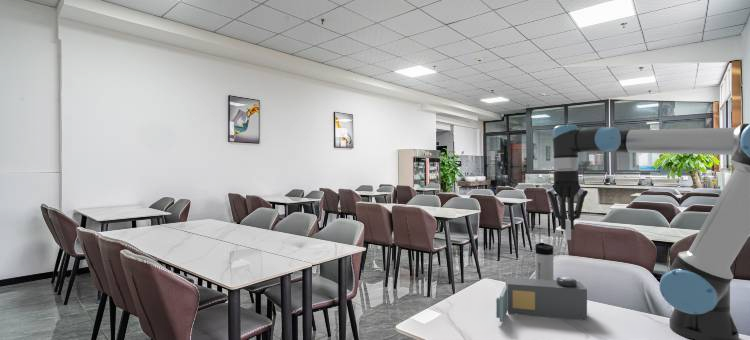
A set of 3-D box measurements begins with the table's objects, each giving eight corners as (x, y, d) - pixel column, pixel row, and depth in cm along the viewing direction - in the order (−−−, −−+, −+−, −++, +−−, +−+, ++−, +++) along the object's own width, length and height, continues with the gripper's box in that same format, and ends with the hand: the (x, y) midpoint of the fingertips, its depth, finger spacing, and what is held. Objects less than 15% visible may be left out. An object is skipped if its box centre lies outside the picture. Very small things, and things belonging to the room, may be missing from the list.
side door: (500, 309, 123) (500, 286, 123) (507, 310, 122) (507, 287, 122) (496, 320, 114) (496, 295, 114) (503, 322, 113) (502, 296, 113)
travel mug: (549, 293, 140) (549, 242, 140) (556, 299, 134) (556, 246, 134) (532, 293, 141) (532, 242, 141) (538, 299, 134) (538, 246, 134)
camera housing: (579, 310, 124) (579, 275, 123) (587, 320, 116) (586, 283, 116) (505, 304, 130) (505, 271, 130) (508, 313, 122) (507, 277, 122)
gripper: (582, 170, 126) (584, 237, 126) (542, 170, 129) (544, 236, 128) (590, 169, 119) (592, 241, 118) (548, 170, 121) (550, 240, 121)
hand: (567, 238), depth 123 cm, fingers closed
